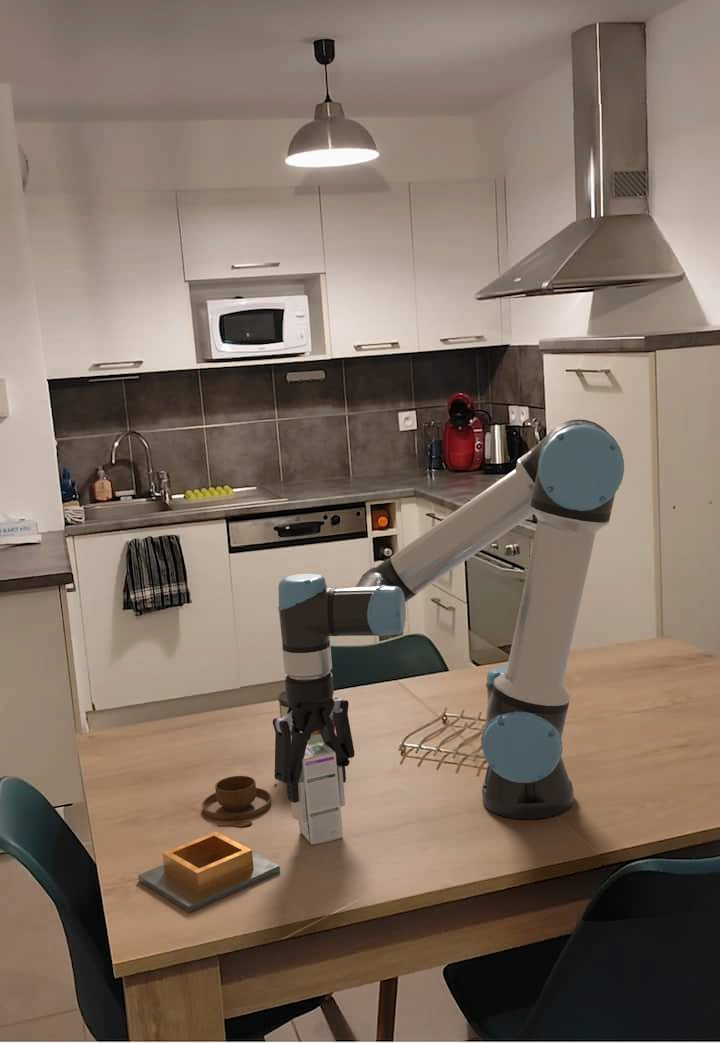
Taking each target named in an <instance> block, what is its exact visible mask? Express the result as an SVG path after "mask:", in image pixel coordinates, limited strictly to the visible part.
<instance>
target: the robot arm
mask: <svg viewBox="0 0 720 1043" xmlns="http://www.w3.org/2000/svg"><path fill="white" fill-rule="evenodd" d="M623 455H624V454H623V452H622V448H621V447H620V445H619V443H618V442H617V440H616V439H615V437H613V435H611V434H610V433H609V432H608V431H607V429H606V428H604V427H602V426H601V425H600V424H598V423H596V422H594V421H591V420H587V419H571V420H567V421H564V422H562V423H561V424H558V425H556V426H555V427H554V428H552V430H551V431H550V432H548V434H547V435H545V436H544V437H543V438H542V439H541V440H540V441H539V442H538V443H536V445H535V446H534V447H533V448H531V449H530V450H529V451H528V452H526V453H525V454H524V455H522V456H521V457H519V458H518V459H517V461H516V467H515V468H514V469H513V470H512V471H510V472H508V473H507V474H506V475H505V476H503V477H501V479H498V480H497V481H496V482H495V483H493V484H492V485H490V486H489V487H488V488H487V489H484V490H483V491H482V492H480V493H479V494H478V495H476V496H475V497H473V498H472V499H471V500H469V501H468V502H467V503H465V504H464V505H462V506H460V507H459V508H458V509H457V510H455V511H454V512H452V513H451V514H450V515H448V516H446V517H445V518H444V519H442V520H440V521H439V522H438V523H437V524H435V525H434V526H432V527H431V528H429V529H428V530H426V531H425V532H424V533H422V534H421V535H420V536H418V537H416V538H415V539H414V540H412V541H411V542H410V543H408V544H407V545H406V546H404V547H403V548H401V549H400V550H398V551H397V552H396V553H394V554H393V555H391V556H390V557H389V558H387V559H385V561H383V562H381V563H380V564H378V565H377V566H374V567H371V568H370V569H368V570H367V571H366V572H365V573H364V574H362V576H361V578H359V580H358V582H357V584H356V585H355V587H354V586H352V587H349V586H348V587H328V584H327V583H326V578H325V577H324V576H323V575H322V574H319V573H318V574H317V573H315V574H314V573H313V574H312V573H299V574H292V575H289V576H286V577H284V578H283V579H282V580H280V581H279V584H278V588H277V589H278V607H277V610H278V614H279V624H280V633H281V642H282V643H281V646H282V659H283V671H284V673H285V674H286V675H285V677H284V687H285V691H286V697H287V700H288V702H289V708H288V711H287V715H285V716H284V717H282V718H278V717H274V718H273V719H272V725H273V728H274V732H275V735H274V736H275V739H274V740H275V741H274V778H275V780H276V781H279V782H282V783H285V784H286V794H287V796H286V797H287V800H288V801H289V802H291V812H292V819H295V820H297V821H298V822H299V821H301V822H303V823H304V822H306V821H307V815H306V803H305V790H304V782H303V781H301V780H299V779H300V774H301V770H302V759H303V758H304V756H305V751H306V746H307V742H308V740H310V737H311V733H313V732H314V731H316V730H319V732H320V734H321V737H322V739H323V741H324V743H325V744H326V745H327V746H329V747H330V748H331V749H332V750H333V751H334V752H335V753H336V764H337V774H338V785H339V796H340V806H341V807H343V806H346V801H345V800H346V798H345V788H344V787H345V786H344V785H345V784H344V783H346V782H347V781H346V780H347V776H346V775H347V774H346V767H348V766H349V765H350V760H349V759H352V758H354V757H355V748H354V741H353V738H352V731H351V725H350V720H349V714H348V713H349V703H350V702H349V701H348V700H347V699H343V698H340V697H334V699H333V698H332V695H333V696H334V693H335V692H334V691H335V690H334V681H333V680H334V678H333V676H334V675H333V673H332V672H331V670H332V669H333V663H332V662H333V661H332V650H331V640H330V639H331V638H330V637H358V636H359V637H361V636H362V637H366V636H367V637H368V636H369V637H370V636H374V637H375V636H377V637H385V636H393V635H399V634H401V633H402V632H403V631H404V630H405V626H406V625H405V624H406V616H407V614H406V603H407V602H408V601H409V600H411V599H412V598H414V597H415V596H416V595H418V594H419V593H420V592H421V591H423V590H424V589H426V588H427V587H429V586H430V585H432V584H434V583H435V582H436V581H438V580H439V579H441V578H443V577H444V576H445V575H446V574H448V573H450V572H451V571H452V570H454V569H456V568H457V567H459V565H461V564H463V563H464V562H465V561H467V560H468V559H470V558H471V557H473V556H474V555H476V554H478V553H479V552H480V551H482V550H483V549H485V548H487V547H488V546H489V545H490V544H492V543H494V542H495V541H496V540H498V539H499V538H501V537H502V536H503V535H505V534H507V533H508V532H509V531H511V530H512V529H514V528H515V527H516V526H518V525H519V524H521V523H522V522H524V521H526V520H527V519H529V518H530V517H531V516H533V515H534V516H535V517H536V520H537V522H536V527H535V530H534V531H535V532H534V536H533V537H534V538H533V541H532V546H531V552H530V556H529V560H528V567H527V570H526V576H525V579H524V580H525V581H524V585H523V590H522V595H521V600H520V605H519V609H518V614H517V618H516V624H515V629H514V633H513V638H512V643H511V648H510V653H509V657H508V662H507V665H502V666H497V667H494V668H492V669H490V670H489V671H488V672H487V674H486V683H485V687H486V689H487V707H486V708H487V710H486V716H485V723H484V729H483V731H482V733H481V734H482V735H481V739H480V741H481V742H480V744H481V749H482V753H483V757H484V759H485V761H486V763H487V765H488V766H487V770H486V773H485V777H484V782H483V783H482V788H481V793H482V794H481V795H482V799H481V800H482V804H483V805H484V807H485V808H486V809H487V810H489V811H490V812H492V813H493V814H496V815H499V816H502V817H506V818H511V819H519V820H537V819H544V818H545V819H547V818H550V817H554V816H557V815H560V814H562V813H564V812H567V811H568V810H569V809H571V807H572V806H573V804H574V802H575V801H574V800H575V797H574V796H575V795H574V793H575V792H574V787H573V783H572V781H571V780H570V779H569V776H568V775H569V774H568V772H567V768H566V766H565V763H564V759H563V756H562V755H563V748H564V747H563V740H562V738H563V734H564V728H565V723H566V719H567V713H568V709H569V704H570V700H571V695H570V694H569V692H568V691H567V689H566V688H565V687H564V685H563V683H564V680H565V674H566V671H567V665H568V663H569V662H568V661H569V657H570V652H571V648H572V647H571V646H572V643H573V637H574V633H575V629H576V625H577V620H578V615H579V612H580V611H579V610H580V607H581V602H582V596H583V592H584V588H585V583H586V580H587V579H586V578H587V575H588V574H587V573H588V570H589V569H588V568H589V565H590V561H591V557H592V556H591V555H592V551H593V548H594V547H593V546H594V544H595V538H596V534H597V532H598V531H599V530H600V529H602V528H604V527H605V526H607V525H609V523H610V520H611V519H610V518H611V513H612V509H613V505H614V501H615V497H616V496H615V495H616V493H617V492H618V490H619V489H620V486H621V485H622V482H623V480H624V474H625V473H624V472H625V460H624V456H623ZM332 711H333V719H334V725H335V732H334V725H333V723H332V721H331V718H330V715H331V712H332ZM291 722H292V723H293V726H291ZM291 729H292V731H291V732H290V730H291ZM300 731H302V732H303V733H300ZM291 735H292V741H291Z"/></svg>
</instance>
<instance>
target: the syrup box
mask: <svg viewBox="0 0 720 1043" xmlns="http://www.w3.org/2000/svg"><path fill="white" fill-rule="evenodd" d="M299 780H301V781H303V782H304V790H305V803H306V815H307V821H306V822H304V823H303V822H301V821H299V820H298V824H299V833H300V835H302V836H303V837H304V839H305V840H306V841H307V842H308V844H310V845H312V846H313V845H319V844H323V843H327V842H328V843H329V842H332V841H335V840H340V839H343V838H344V832H343V819H342V809H341V808H342V806H340V796H339V785H338V774H337V764H336V753H335V752H334V751H333V750H332V749H331V748H330V747H329V746H327V745H326V744H325V743H324V742H319V743H312V744H307V746H306V751H305V756H304V758H303V759H302V770H301V774H300V779H299Z"/></svg>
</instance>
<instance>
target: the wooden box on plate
mask: <svg viewBox="0 0 720 1043" xmlns="http://www.w3.org/2000/svg"><path fill="white" fill-rule="evenodd" d="M161 855H162V862H163V864H161V865H159V866H156V867H154V868H152V869H149V870H147V871H145V872H142V873H139V874H138V876H137V877H138V878H137V879H138V882H139V883H141V884H142V885H144V886H146V887H147V888H149V889H150V890H152V891H153V892H155V893H156V894H158V895H159V896H162V898H165V899H166V900H168V901H169V902H171V903H173V904H174V905H176V906H177V907H179V908H180V909H182V910H183V911H185V912H186V913H188V914H190V913H192V912H195V911H197V910H200V909H201V908H203V907H206V906H208V905H210V904H212V903H215V902H216V901H219V900H222V899H223V898H226V897H228V896H231V895H232V894H235V893H237V892H239V891H242V890H243V889H245V888H248V887H251V886H252V885H255V884H256V883H259V882H262V881H263V880H266V879H268V878H271V877H272V876H274V875H277V874H279V873H281V867H280V865H279V864H277V863H275V862H273V861H271V860H269V859H267V858H265V857H264V856H262V855H260V854H258V853H256V852H253V850H252V849H251V848H249V847H247V846H245V845H243V844H241V843H239V842H237V841H236V840H234V839H232V838H229V837H227V836H226V835H223V834H221V833H220V832H217V831H213V832H212V833H209V834H206V835H204V836H202V837H199V838H196V839H195V840H191V841H189V842H187V843H184V844H182V845H179V846H177V847H174V848H172V849H169V850H166V851H164V852H162V854H161Z"/></svg>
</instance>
